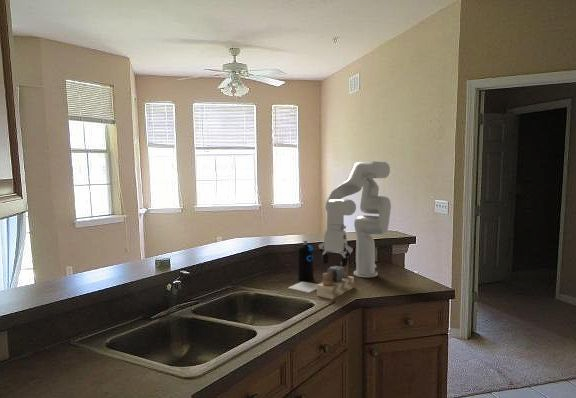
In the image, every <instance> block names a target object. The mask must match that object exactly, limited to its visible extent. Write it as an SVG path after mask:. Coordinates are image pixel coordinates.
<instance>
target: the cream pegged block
mask: <svg viewBox="0 0 576 398" xmlns="http://www.w3.org/2000/svg"><path fill="white" fill-rule="evenodd" d="M340 267H343V266H342V261H341V262H340ZM317 284H318V285H317V290H316V296H317V297H321V298H326V299H330V300H333V299H335V298H337V297H340V296H341V295H343V294H345V293H346V292H348V291H350V290H352V289H353V288H355V277H354V276H349V261H347V266H345V267H344V278H343V279H341V280H339V281H332V273H327V272H323V273H322V282H319V283H317ZM344 292H345V293H344Z"/></svg>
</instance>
